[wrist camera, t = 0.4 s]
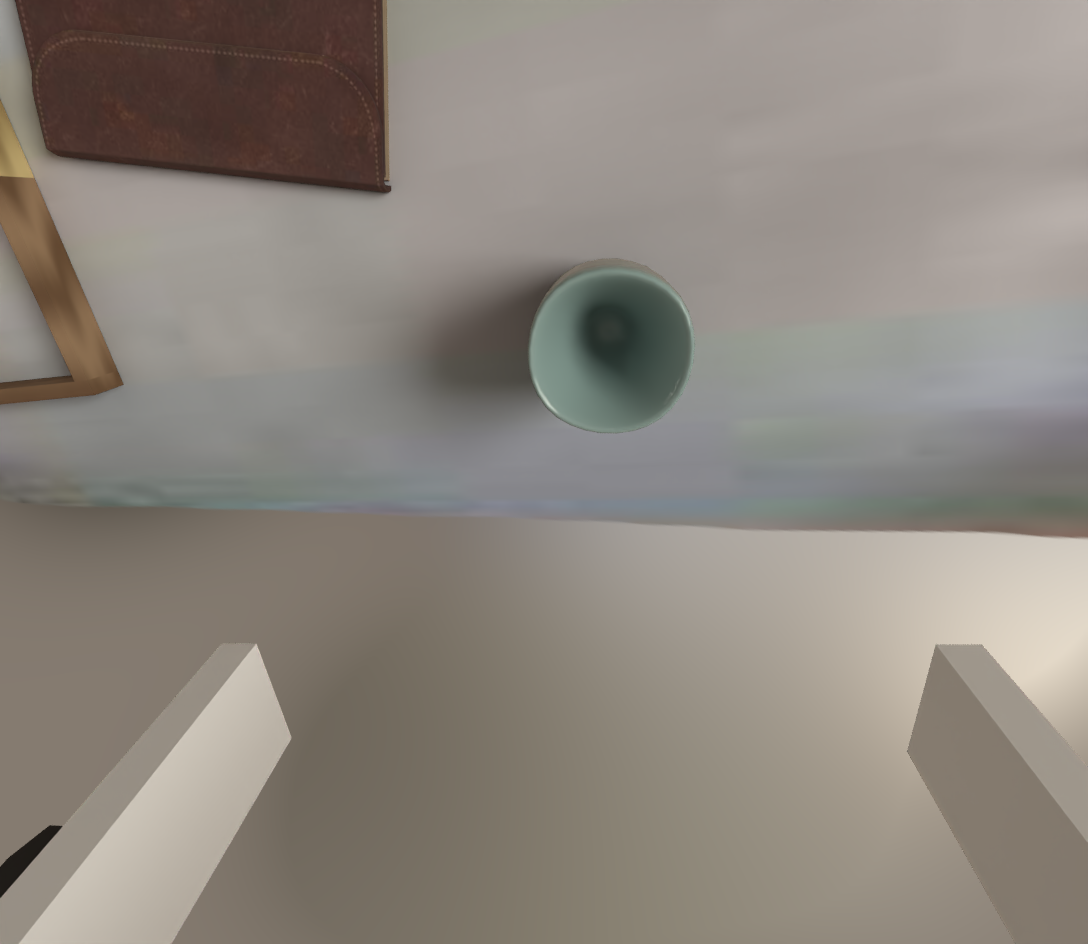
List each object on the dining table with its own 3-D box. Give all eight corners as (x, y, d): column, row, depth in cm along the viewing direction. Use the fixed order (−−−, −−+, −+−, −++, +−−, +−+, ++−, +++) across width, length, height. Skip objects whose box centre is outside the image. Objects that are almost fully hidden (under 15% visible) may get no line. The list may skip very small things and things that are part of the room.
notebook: (-2, -188, 28) (-44, -216, 26) (389, -155, 27) (374, -181, 25) (75, 157, 34) (45, 155, 32) (394, 193, 33) (382, 192, 32)
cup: (540, 374, 37) (520, 427, 28) (549, 246, 33) (530, 258, 24) (660, 386, 36) (680, 444, 27) (682, 257, 33) (712, 274, 24)
